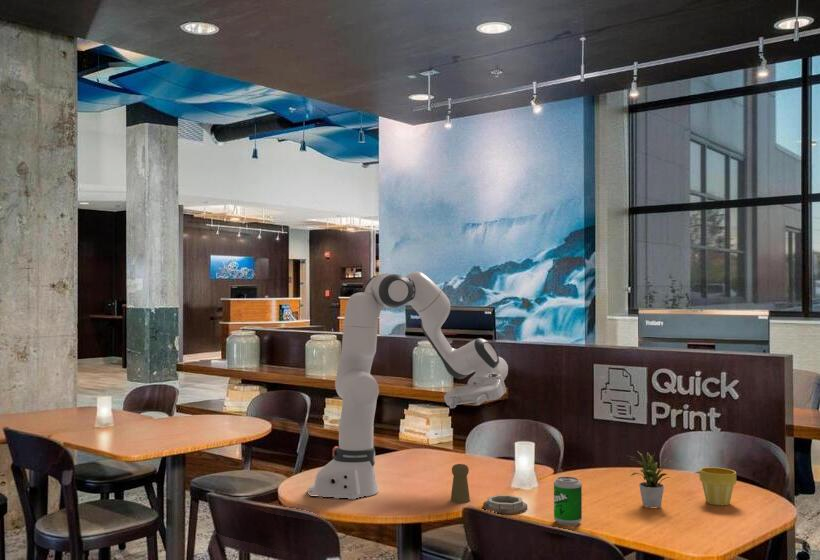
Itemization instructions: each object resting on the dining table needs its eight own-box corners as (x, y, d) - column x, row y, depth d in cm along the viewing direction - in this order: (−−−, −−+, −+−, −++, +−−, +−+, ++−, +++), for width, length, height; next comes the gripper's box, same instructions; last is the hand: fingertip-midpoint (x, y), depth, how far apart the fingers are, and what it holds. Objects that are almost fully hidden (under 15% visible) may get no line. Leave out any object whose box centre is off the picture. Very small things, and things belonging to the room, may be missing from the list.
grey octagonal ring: (484, 514, 219) (484, 505, 219) (481, 502, 232) (481, 493, 232) (529, 514, 218) (529, 505, 218) (524, 502, 231) (524, 494, 231)
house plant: (613, 501, 233) (613, 447, 233) (651, 496, 238) (650, 444, 238) (643, 513, 219) (643, 456, 220) (682, 508, 224) (681, 453, 225)
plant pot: (718, 497, 237) (718, 465, 238) (744, 505, 228) (744, 472, 228) (692, 500, 234) (692, 468, 234) (717, 508, 224) (716, 475, 224)
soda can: (577, 518, 214) (577, 475, 215) (584, 526, 207) (584, 482, 207) (551, 518, 214) (551, 475, 214) (557, 526, 207) (557, 482, 207)
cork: (468, 503, 230) (468, 467, 230) (449, 502, 231) (448, 466, 231) (471, 498, 236) (471, 462, 236) (451, 497, 237) (451, 462, 237)
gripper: (452, 381, 259) (433, 399, 248) (504, 373, 248) (487, 392, 237) (458, 398, 260) (439, 416, 249) (510, 391, 249) (494, 410, 238)
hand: (463, 404), depth 243 cm, fingers open, 8 cm apart
